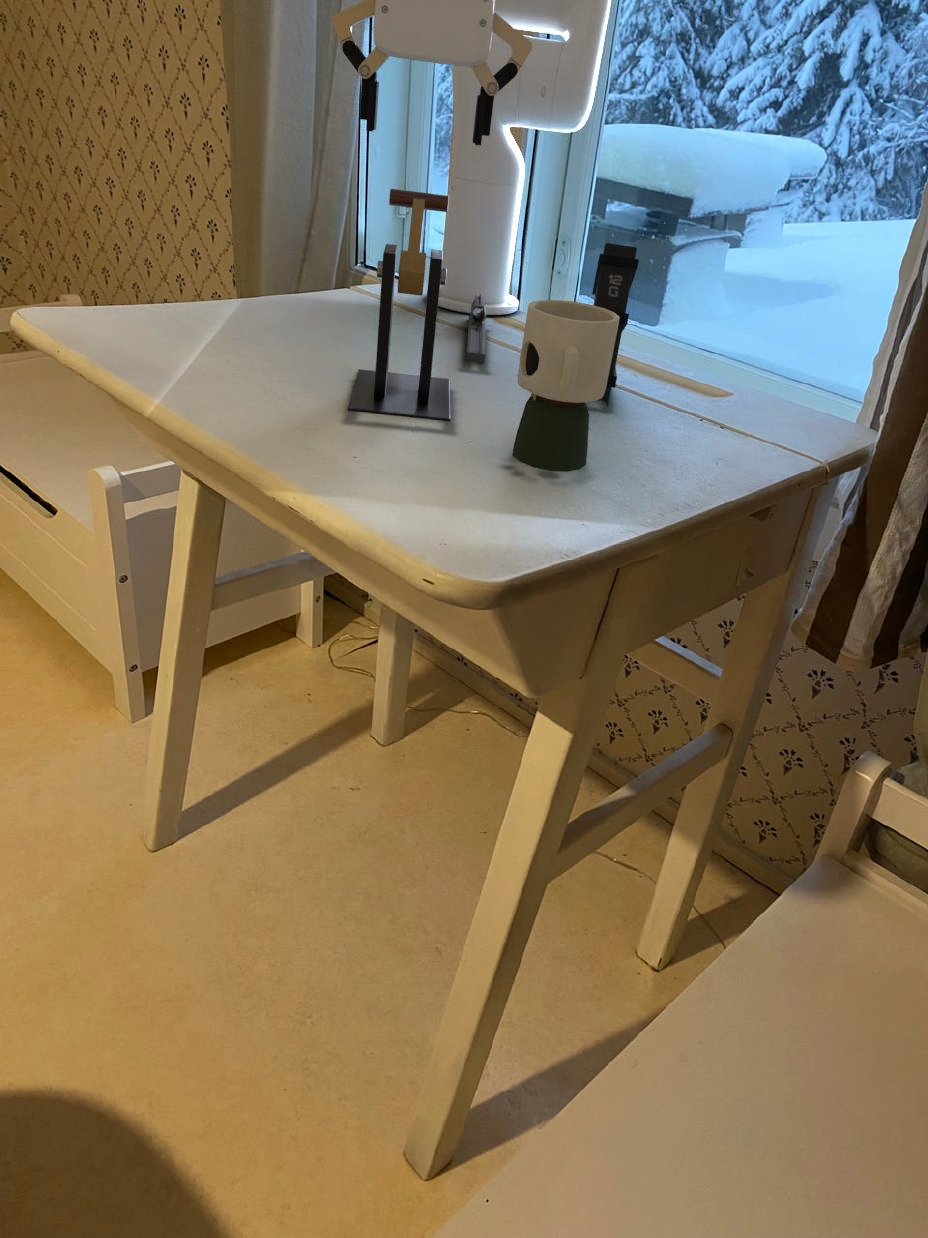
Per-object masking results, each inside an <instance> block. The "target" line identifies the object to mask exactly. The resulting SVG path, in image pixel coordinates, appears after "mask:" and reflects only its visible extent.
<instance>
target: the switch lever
mask: <svg viewBox="0 0 928 1238" xmlns="http://www.w3.org/2000/svg"><path fill="white" fill-rule="evenodd" d="M388 200H389V201H388V204H389V206H391V207H399V208H401V207H402V208H409V209H411V216H410V225H409V233H408V235H409V236H408V244H407V250H404V249H403V250H402V249H401V251H400V256H399V257H400V258H399V265H398V266H399V267H398V277H397V294H404V295H413V296H421V297H423V295H424V283H425V273H426V262H427V261H426V260H427V253H426V252H421V248H422V239H423V238H422V237H423V227H424V216H425V211H433V212H442V213H446V212H447V211H448V202H449V196H448V194H439V193H438V194H437V193H429V192H421V191H413V190H407V189H406V190H405V189H397V188H390V190H389V199H388Z"/></svg>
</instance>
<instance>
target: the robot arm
mask: <svg viewBox="0 0 928 1238" xmlns="http://www.w3.org/2000/svg"><path fill="white" fill-rule="evenodd" d="M611 4H612V0H363V1H360V2H358V3H356V4H354V5H351V6H349V7H348V8H345V9H343V10H341V11H339V12H337V13H335V14H333V16H332V17H331V23H332V26H333V29H334V31H335V34H336V36H337V39H338V42H339V44H340V47H341V49H342V53H343V54H344V56H345V57H346V58H347V60H348V62H350V64H351V65H352V67H353V68H354V69H355V71H356V72H357V73H358V75H359V77H360V78H361V82H360V83H361V84H360V85H361V86H360V102H359V103H360V104H359V120H363V121H366V126H365V128H366V129H365V130H366V132H374V131H375V130H376V129H377V122H378V107H379V106H378V104H379V90H380V81H378V79H377V78H378V71H379V69H381V67H382V66H383V65H384V64H385V62H387V60H388V59H389V58H390V57H392V58H397V59H404V60H410V61H416V62H417V61H418V62H423V63H424V62H425V63H432V64H437V65H439V64H440V65H447V66H452V69H451V82H452V83H451V84H452V85H451V86H452V107H453V110H452V112H453V115H452V117H453V128H452V146H451V158H450V168H449V169H450V170H449V177H448V178H449V179H448V188H447V189H448V190H447V196H449V202H448V211H447V212H445V220H444V228H443V229H444V231H443V239H442V249H441V250H442V268H446V269H447V273H446V283H445V285H440V289H439V299H438V307H440V308H443V309H446V310H450V311H455V312H459V313H466V314H469V313H470V312H471V305H472V303H473V301H474V299H475V296H480V294H481V297H484V302H485V306H486V316H497V315H498V316H501V315H502V316H503V315H509V314H513V313H516V311H518V310H519V304H520V303H519V300H518V299H517V297H515V296H513V295H511V294H510V285H511V279H512V278H511V276H512V269H513V263H514V262H513V261H514V255H515V248H516V241H517V233H518V227H519V217H520V211H521V203H522V202H521V201H522V195H523V188H524V183H525V172H526V170H525V169H526V168H525V161H524V160H525V159H524V157H523V154H522V152H521V150H520V148H519V146H518V144H517V143H516V141H515V138H514V137H513V135H512V133H511V131H510V128H512V127H515V128H526V129H535V130H540V131H541V130H542V131H548V132H549V131H550V132H556V133H557V132H558V133H572V132H577V131H579V130H580V129H582V128H583V127H584V126H585V124H586V123H587V121H588V119H589V116H590V113H591V110H592V107H593V103H594V99H595V93H596V88H597V83H598V77H599V72H600V65H601V61H602V55H603V49H604V43H605V37H606V32H607V26H608V21H609V16H610V10H611V9H610V8H611ZM370 18H373V43H374V46H375V47H374V48H373V49H372V50H371V52H369V54H368V55H367V56H365V54H364V53H363V51H362V50H361V49H360V47H359V46H358V45H357V43H356V40H355V37H354V35H353V27H354V26H355V25H357V24H360V23H362V22H364V21H365V20H369V19H370ZM518 30H520V31H521V30H523V31H529V32H537V33H545V34H552V35H558V36H561V37H563V38H564V40H559V39H551V38H543V37H534V36H531V35H524V34H522V33H521V32H520V31H518ZM482 310H483V309H479V308H475V309H474V312H476V313H480V312H481V311H482Z"/></svg>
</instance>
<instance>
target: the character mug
mask: <svg viewBox="0 0 928 1238" xmlns="http://www.w3.org/2000/svg"><path fill="white" fill-rule="evenodd" d="M619 318H620V317H619V316H618V315H617V314H616V313H614V312H612V311H609V310H607V309H604V308H601V307H597V306H594V305H593V304H589V303H583V302H578V301H572V300H561V299H539V300H534V301H531V302H529V303H528V305H527V311H526V317H525V324H524V332H523V338H522V343H521V344H522V345H521V349H520V356H519V365H518V372H517V384H518V386H519V387H521V389H523V390H525V391H528V392H529V393H530V396H529V398H528V399H527V401H526V402H525V404H524V408H523V411H522V414H521V417H520V421H519V424H518V428H517V431H516V435H515V440H514V442H513V447H512V450H513V452H512V457H514V458H515V459H516V460H517V461H519V462H520V463H522V464H524V465H527V466H529V467H531V468H534V469H539V470H542V471H543V470H544V471H548V472H562V473H563V472H566V473H567V472H574V471H578V470H581V469H582V468H584V466H586V465H587V457H588V450H589V449H588V448H589V429H590V427H589V426H590V412H589V408H588V405H587V403H591V402H592V403H593V402H596V401H600V400H599V399H602V397H603V395H604V393H605V389H606V386H607V380H608V375H609V370H610V365H611V360H612V355H613V350H614V345H615V340H616V335H617V330H618V325H619Z"/></svg>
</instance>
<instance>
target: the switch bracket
mask: <svg viewBox="0 0 928 1238" xmlns="http://www.w3.org/2000/svg"><path fill="white" fill-rule="evenodd" d="M442 250H443V249H441V250H440V249H433V248H431V249H430V259H429V269H428V270H429V271H428V279H427V290H426V302H425V314H424V324H423V333H422V334H423V335H422V344H421V345H422V346H421V357H420V367H419V375H416V374H407V373H399V372H389V363H390V351H391V336H392V322H393V308H394V298H395V297H394V295H395V282H396V268H397V254H398V245H397V244H390V243H386V244H385V247H384V249H383V253H382V260H378V261H377V265H376V267H377V268H376V278H377V279H381V281H380V297H379V312H378V314H379V315H378V328H377V343H376V357H375V370H370V369H363V368H362V369H361V368H360V369H358V371H357V374H356V378H355V381H354V386H353V389H352V392H351V397H350V400H349V404H348V407H347V411H348V412H355V413H366V414H367V413H368V414H375V415H385V416H393V417H394V416H395V417H405V418H414V419H423V420H432V421H442V422H451V385H450V383H451V382H450V378H445V377H434V376H432V370H433V360H434V348H435V341H436V340H435V339H436V338H435V337H436V329H437V328H436V327H437V320H438V319H437V318H438V310H439V309H438V307H439V306H438V299H439V289H440V285H445V283H446V273H447V269H446V268H442Z"/></svg>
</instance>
